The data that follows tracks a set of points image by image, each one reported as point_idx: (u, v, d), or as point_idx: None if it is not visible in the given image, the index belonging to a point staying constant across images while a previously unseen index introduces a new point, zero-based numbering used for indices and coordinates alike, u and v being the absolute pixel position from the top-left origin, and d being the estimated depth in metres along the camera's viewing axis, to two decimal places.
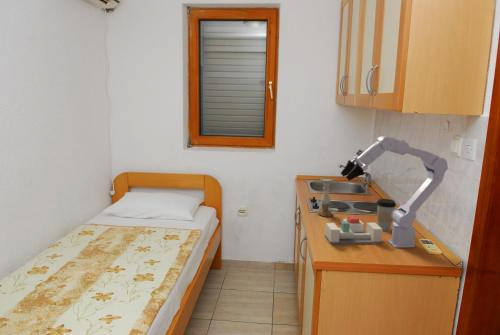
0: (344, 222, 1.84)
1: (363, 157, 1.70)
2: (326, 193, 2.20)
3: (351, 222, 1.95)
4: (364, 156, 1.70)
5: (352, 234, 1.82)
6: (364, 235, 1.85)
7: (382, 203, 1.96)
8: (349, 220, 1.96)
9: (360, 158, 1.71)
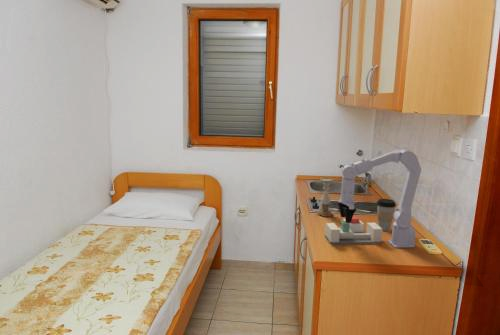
0: (344, 222, 1.84)
1: (344, 197, 1.79)
2: (326, 193, 2.20)
3: (351, 222, 1.95)
4: (344, 196, 1.79)
5: (352, 234, 1.82)
6: (364, 235, 1.85)
7: (382, 203, 1.96)
8: None
9: (343, 199, 1.80)
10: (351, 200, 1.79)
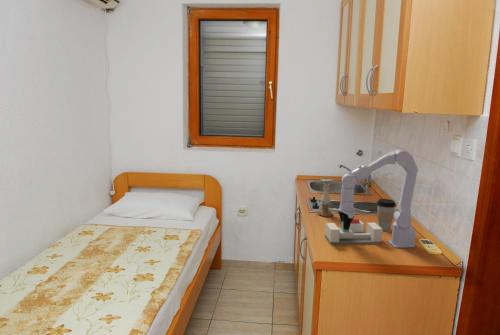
0: None
1: (343, 206, 1.80)
2: (326, 193, 2.20)
3: (351, 222, 1.95)
4: (343, 204, 1.80)
5: (352, 234, 1.82)
6: (364, 235, 1.85)
7: (382, 203, 1.96)
8: None
9: (342, 208, 1.81)
10: (350, 209, 1.80)
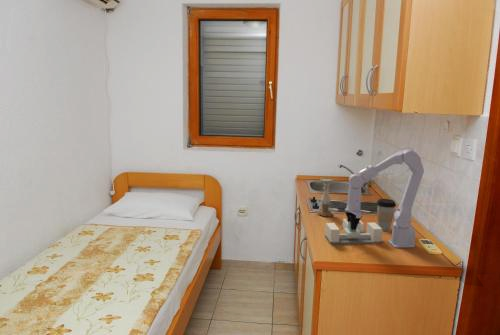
0: None
1: (351, 206, 1.81)
2: (326, 193, 2.20)
3: None
4: (351, 204, 1.80)
5: (359, 234, 1.82)
6: (364, 235, 1.85)
7: (382, 203, 1.96)
8: None
9: (349, 208, 1.81)
10: (358, 209, 1.81)
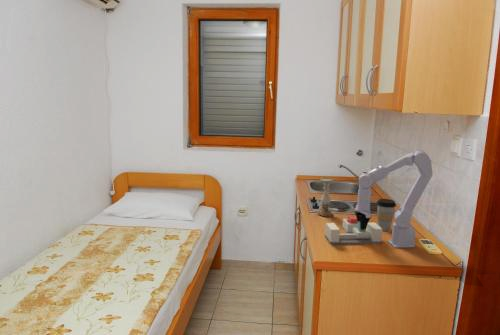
0: None
1: (360, 206, 1.81)
2: (326, 193, 2.20)
3: (351, 222, 1.95)
4: (360, 204, 1.81)
5: (369, 234, 1.82)
6: None
7: (382, 203, 1.96)
8: (349, 220, 1.96)
9: (359, 208, 1.82)
10: (368, 209, 1.81)
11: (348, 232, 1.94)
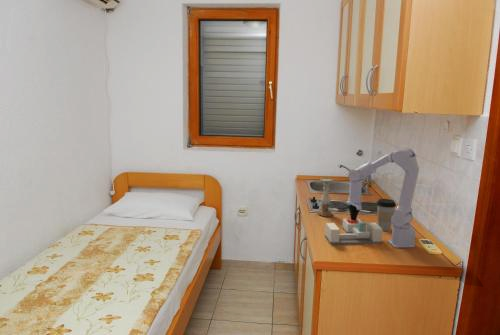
0: (360, 222, 1.84)
1: (352, 198, 1.93)
2: (326, 193, 2.20)
3: None
4: (352, 197, 1.93)
5: (369, 234, 1.82)
6: None
7: (382, 203, 1.96)
8: (349, 222, 1.96)
9: (351, 200, 1.93)
10: (358, 201, 1.93)
11: (348, 232, 1.94)
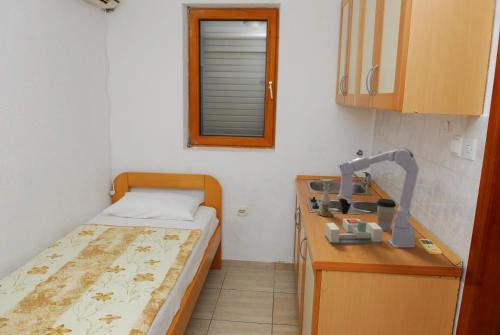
0: (360, 222, 1.84)
1: (343, 192, 1.87)
2: (326, 193, 2.20)
3: None
4: (343, 191, 1.87)
5: (369, 234, 1.82)
6: None
7: (382, 203, 1.96)
8: (349, 223, 1.97)
9: (342, 194, 1.88)
10: (350, 195, 1.87)
11: (348, 232, 1.94)
